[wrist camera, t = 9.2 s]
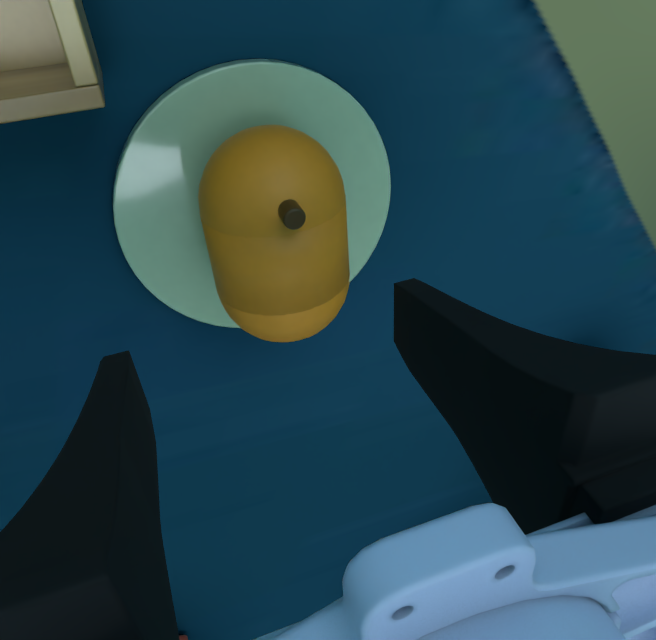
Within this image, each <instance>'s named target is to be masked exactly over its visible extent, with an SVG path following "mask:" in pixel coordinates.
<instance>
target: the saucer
mask: <svg viewBox="0 0 656 640" xmlns="http://www.w3.org/2000/svg"><path fill="white" fill-rule="evenodd" d="M261 125H282V126H287V127H290V128H293V129H296V130H299V131H302V132H304V133H305V134H307V135H308V136H310V137H312V138H313V139H315V140H316V141H318V142H319V143H320V144H321V145H322V146H323V147H324V148H325V149H326V150H327V151H328V153H329V154H330V156H331V157H332V159H333V160H334V162H335V163H336V165H337V166H338V169H339V171H340V174H341V176H342V179H343V184H344V190H345V195H346V212H347V231H348V250H349V269H350V278H349V283H350V282H351V281H352V279H353V278H354V277H355V276H356V275H357V274H358V273H359V272H360V270H361V269H362V268H363V266H364V265H365V263H366V262H367V261H368V259H369V257H370V256H371V254H372V252H373V251H374V249H375V247H376V245H377V243H378V241H379V238H380V236H381V234H382V231H383V228H384V225H385V222H386V219H387V214H388V209H389V203H390V191H391V181H390V168H389V163H388V158H387V153H386V150H385V147H384V144H383V141H382V138H381V136H380V134H379V132H378V130H377V128H376V126H375V124H374V122H373V121H372V119H371V118H370V116H369V115H368V114H367V112H366V111H365V109H364V108H363V107H362V106H361V105H360V104H359V103H358V102H357V101H356V100H355V98H354V97H353V96H352V95H351V94H349V93H348V92H347V91H346V90H344V89H343V88H342V87H340V86H339V85H338V84H336V83H335V82H334V81H332V80H331V79H329V78H327V77H325V76H323V75H322V74H320V73H318V72H316V71H314V70H311V69H309V68H306V67H303V66H301V65H298V64H294V63H289V62H285V61H280V60H270V59H247V60H236V61H231V62H227V63H223V64H218V65H215V66H212V67H210V68H207V69H204V70H202V71H199V72H196V73H195V74H193V75H191V76H189V77H187V78H186V79H184V80H182V81H180V82H178V83H177V84H176V85H174V86H173V87H172V88H170V89H169V90H168V91H166V92H165V93H164V94H162V95H161V96H160V97H159V98H158V99H157V100H156V101H155V102H154V103H153V104H152V105H151V106H150V107H149V108H148V109H147V110H146V111H145V113H144V114H143V115H142V117H141V118H140V119H139V121H138V122H137V123H136V125H135V126H134V128H133V129H132V131H131V133H130V135H129V137H128V139H127V141H126V142H125V144H124V147H123V149H122V152H121V155H120V158H119V160H118V163H117V168H116V173H115V177H114V182H113V200H112V203H113V213H114V224H115V229H116V233H117V237H118V241H119V244H120V246H121V249H122V251H123V254H124V256H125V258H126V260H127V262H128V264H129V265H130V267H131V269H132V270H133V272H134V274H135V275H136V276H137V277H138V279H139V280H140V281H141V282H142V284H143V285H144V286H145V287H146V288H147V289H148V290H149V291H150V292H151V293H152V294H153V295H154V296H155V297H156V298H158V299H159V300H160V301H162V302H163V303H165V304H166V305H167V306H169V307H170V308H172V309H174V310H175V311H177V312H179V313H181V314H183V315H185V316H187V317H190V318H192V319H195V320H198V321H200V322H204V323H208V324H212V325H216V326H223V327H231V328H241V327H240V326H238V325H237V324H236V323H235V322H234V321H233V320H232V319H231V318H230V317H229V315H228V314H227V312H226V310H225V309H224V307H223V305H222V303H221V301H220V299H219V296H218V293H217V289H216V285H215V280H214V276H213V271H212V267H211V262H210V258H209V253H208V249H207V244H206V240H205V236H204V231H203V227H202V222H201V218H200V210H199V201H198V193H199V183H200V180H201V177H202V174H203V171H204V168H205V166H206V164H207V162H208V161H209V159H210V157H211V156H212V154H213V153H214V152H215V150H216V149H217V148H218V147H219V146H220V145H221V144H222V143H223V142H224V141H225V140H227V139H228V138H230V137H231V136H233V135H235V134H236V133H238V132H240V131H242V130H244V129H247V128H250V127H255V126H261Z"/></svg>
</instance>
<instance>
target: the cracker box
mask: <svg viewBox="0 0 656 640" xmlns="http://www.w3.org/2000/svg"><path fill="white" fill-rule="evenodd" d="M179 639H180V640H188V637H187V635H181V636H179Z"/></svg>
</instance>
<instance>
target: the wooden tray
mask: <svg viewBox="0 0 656 640" xmlns="http://www.w3.org/2000/svg"><path fill="white" fill-rule="evenodd" d="M103 107H105V97H104V86H103V75H102V70H101V67H100V63H99V60H98V56H97V53H96V49H95V46H94V43H93V39H92V36H91V32H90V29H89V25H88V22H87V18H86V15H85V11H84V8H83V4H82V1H81V0H0V124H3V123H9V122H16V121H22V120H28V119H34V118H41V117H47V116H53V115H60V114H66V113H72V112H78V111H85V110H91V109H97V108H103Z"/></svg>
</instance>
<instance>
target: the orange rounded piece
mask: <svg viewBox="0 0 656 640" xmlns="http://www.w3.org/2000/svg"><path fill="white" fill-rule="evenodd" d="M198 201H199V210H200V218H201V222H202V227H203V231H204V236H205V240H206V244H207V249H208V253H209V258H210V262H211V267H212V271H213V276H214V280H215V285H216V289H217V293H218V296H219V299H220V301H221V303H222V305H223V307H224V309H225V310H226V312H227V314H228V315H229V317H230V318H231V319H232V320H233V321H234V322H235V323H236V324H237V325H238V326H240V327H241V328H242V329H243V330H244V331H246V332H248V333H249V334H251V335H253V336H255V337H258V338H260V339H263V340H267V341H272V342H293V341H298V340H302V339H305V338H308V337H310V336H312V335H314V334H316V333H318V332H319V331H321V330H322V329H324V328H325V327H326V326H327V325H328V324H329V323H330V322H331V321H332V320H333V319H334V318H335V317H336V315H337V314H338V312H339V310H340V309H341V307H342V305H343V304H344V302H345V298H346V295H347V292H348V287H349V278H350V269H349V250H348V231H347V212H346V195H345V190H344V184H343V179H342V176H341V174H340V171H339V169H338V166H337V165H336V163H335V162H334V160H333V159H332V157H331V156H330V154H329V153H328V151H327V150H326V149H325V148H324V147H323V146H322V145H321V144H320V143H319V142H318V141H316V140H315V139H313V138H312V137H310V136H308V135H307V134H305V133H304V132H302V131H299V130H296V129H293V128H290V127H287V126H282V125H261V126H255V127H250V128H247V129H244V130H242V131H240V132H238V133H236V134H235V135H233V136H231V137H230V138H228V139H227V140H225V141H224V142H223V143H222V144H221V145H220V146H219V147H218V148H217V149H216V150H215V152H214V153H213V154H212V156H211V157H210V159H209V161H208V162H207V164H206V166H205V168H204V171H203V174H202V177H201V180H200V183H199V193H198Z"/></svg>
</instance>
